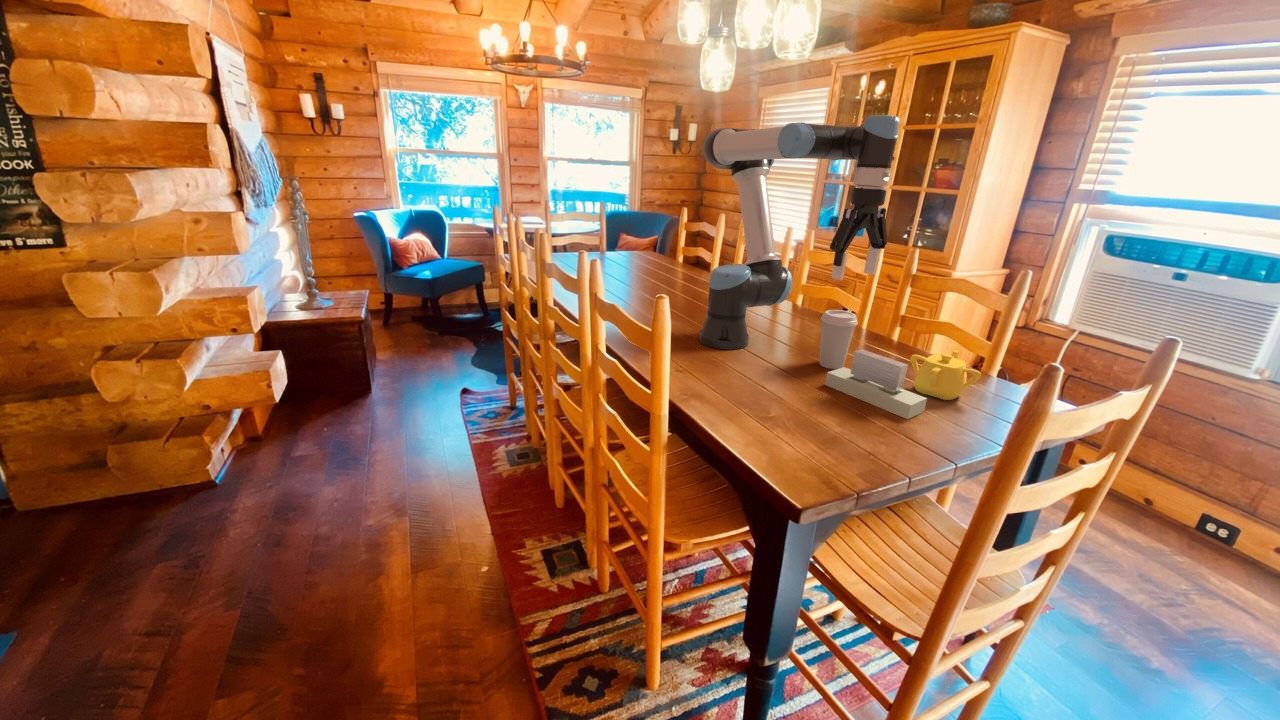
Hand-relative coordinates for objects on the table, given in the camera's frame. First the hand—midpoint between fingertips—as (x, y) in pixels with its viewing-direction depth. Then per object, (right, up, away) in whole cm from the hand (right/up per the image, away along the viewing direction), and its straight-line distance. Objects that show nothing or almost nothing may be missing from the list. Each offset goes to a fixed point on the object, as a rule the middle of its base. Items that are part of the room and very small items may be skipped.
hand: (853, 276), depth 132 cm
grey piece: (+3, -30, -4) cm, 30 cm away
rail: (+3, -30, -4) cm, 31 cm away
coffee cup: (0, -23, +16) cm, 28 cm away
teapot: (+22, -29, +1) cm, 37 cm away
